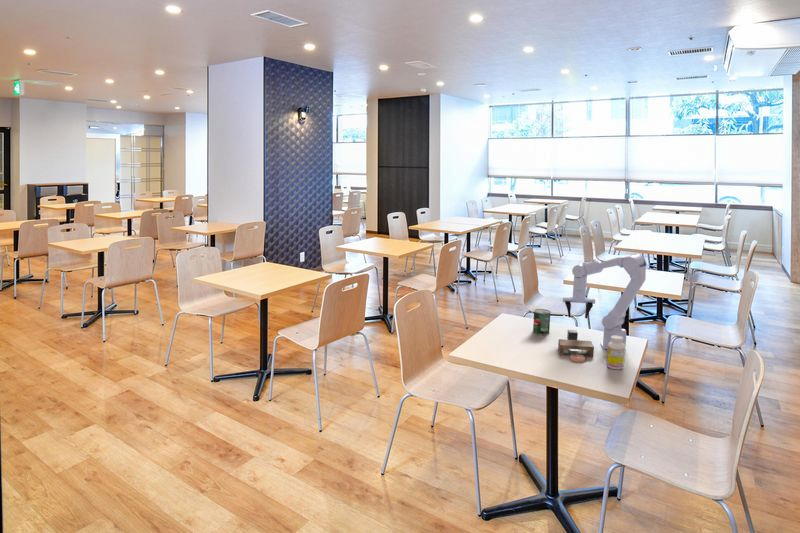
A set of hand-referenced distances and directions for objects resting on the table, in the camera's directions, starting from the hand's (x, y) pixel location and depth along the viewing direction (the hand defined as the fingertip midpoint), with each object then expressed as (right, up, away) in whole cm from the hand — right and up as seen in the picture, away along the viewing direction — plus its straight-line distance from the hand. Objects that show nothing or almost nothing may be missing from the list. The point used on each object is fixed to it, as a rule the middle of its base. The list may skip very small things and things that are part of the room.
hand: (577, 317), depth 259 cm
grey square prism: (-6, -13, -11) cm, 18 cm away
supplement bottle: (+4, -17, -34) cm, 38 cm away
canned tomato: (-15, -9, +11) cm, 20 cm away
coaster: (-8, -16, -26) cm, 31 cm away
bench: (-7, -14, -18) cm, 24 cm away
